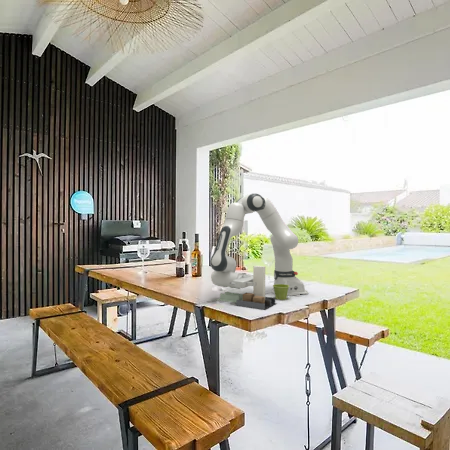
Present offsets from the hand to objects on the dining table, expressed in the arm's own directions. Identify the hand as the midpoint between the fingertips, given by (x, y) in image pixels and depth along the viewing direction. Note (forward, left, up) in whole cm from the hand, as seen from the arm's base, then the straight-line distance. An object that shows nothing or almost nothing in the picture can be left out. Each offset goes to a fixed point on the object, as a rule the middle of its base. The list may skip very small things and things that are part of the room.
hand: (259, 282), depth 192 cm
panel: (0, 0, -11) cm, 11 cm away
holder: (+13, -11, -12) cm, 21 cm away
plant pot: (-15, -9, -12) cm, 21 cm away
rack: (+3, +3, -12) cm, 13 cm away
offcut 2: (+2, +7, -11) cm, 13 cm away
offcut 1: (+7, +3, -11) cm, 13 cm away
